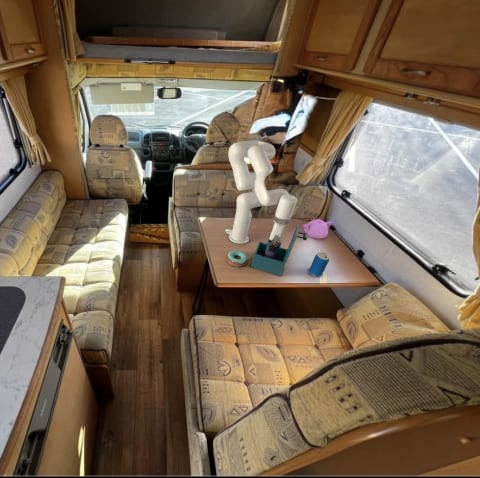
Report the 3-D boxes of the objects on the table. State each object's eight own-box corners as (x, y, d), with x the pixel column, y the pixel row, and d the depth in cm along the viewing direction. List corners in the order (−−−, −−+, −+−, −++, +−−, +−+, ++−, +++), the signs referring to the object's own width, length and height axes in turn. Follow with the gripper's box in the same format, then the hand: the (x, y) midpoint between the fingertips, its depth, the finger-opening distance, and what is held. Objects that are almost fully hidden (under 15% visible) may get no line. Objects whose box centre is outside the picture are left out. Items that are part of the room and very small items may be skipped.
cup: (273, 260, 148) (280, 238, 139) (275, 267, 143) (282, 246, 134) (260, 258, 149) (267, 237, 140) (262, 266, 144) (268, 244, 135)
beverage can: (321, 279, 137) (329, 261, 130) (307, 274, 140) (315, 257, 133) (322, 272, 141) (330, 254, 134) (309, 267, 144) (317, 250, 137)
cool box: (250, 266, 144) (254, 254, 139) (255, 253, 154) (259, 241, 149) (280, 276, 138) (284, 263, 133) (283, 261, 148) (288, 249, 143)
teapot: (293, 229, 176) (298, 216, 170) (320, 227, 179) (325, 213, 173) (306, 241, 165) (311, 227, 159) (334, 238, 168) (340, 224, 162)
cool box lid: (295, 236, 124) (307, 240, 121) (298, 223, 133) (309, 226, 131) (284, 262, 133) (295, 266, 131) (287, 248, 143) (298, 252, 141)
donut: (244, 270, 142) (245, 265, 139) (223, 263, 146) (224, 258, 144) (249, 258, 150) (250, 253, 148) (229, 252, 155) (230, 246, 152)
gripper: (276, 210, 137) (268, 236, 147) (271, 225, 125) (262, 253, 135) (292, 213, 134) (282, 240, 144) (287, 229, 122) (277, 257, 132)
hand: (272, 246), depth 139 cm, fingers open, 9 cm apart
